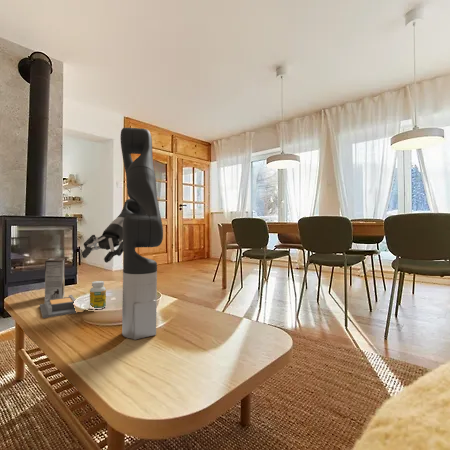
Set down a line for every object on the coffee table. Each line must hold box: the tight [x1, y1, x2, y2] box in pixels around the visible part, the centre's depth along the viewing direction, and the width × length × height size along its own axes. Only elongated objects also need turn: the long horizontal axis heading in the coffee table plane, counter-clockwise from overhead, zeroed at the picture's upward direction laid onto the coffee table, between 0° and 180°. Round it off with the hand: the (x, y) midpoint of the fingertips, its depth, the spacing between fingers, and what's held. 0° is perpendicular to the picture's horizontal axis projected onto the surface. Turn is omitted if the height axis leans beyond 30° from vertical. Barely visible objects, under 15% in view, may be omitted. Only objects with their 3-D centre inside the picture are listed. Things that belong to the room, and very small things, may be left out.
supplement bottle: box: [89, 280, 107, 309], centre depth 102 cm, size 5×5×10 cm
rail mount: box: [39, 294, 77, 319], centre depth 101 cm, size 16×12×3 cm
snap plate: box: [50, 297, 73, 304], centre depth 101 cm, size 6×6×1 cm
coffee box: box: [44, 257, 66, 299], centre depth 117 cm, size 9×6×16 cm
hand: (94, 258), depth 98 cm, fingers open, 8 cm apart
